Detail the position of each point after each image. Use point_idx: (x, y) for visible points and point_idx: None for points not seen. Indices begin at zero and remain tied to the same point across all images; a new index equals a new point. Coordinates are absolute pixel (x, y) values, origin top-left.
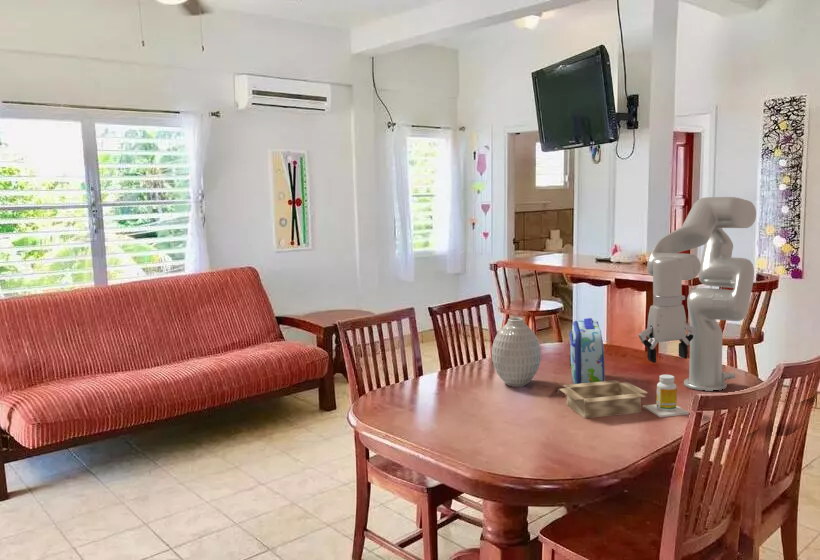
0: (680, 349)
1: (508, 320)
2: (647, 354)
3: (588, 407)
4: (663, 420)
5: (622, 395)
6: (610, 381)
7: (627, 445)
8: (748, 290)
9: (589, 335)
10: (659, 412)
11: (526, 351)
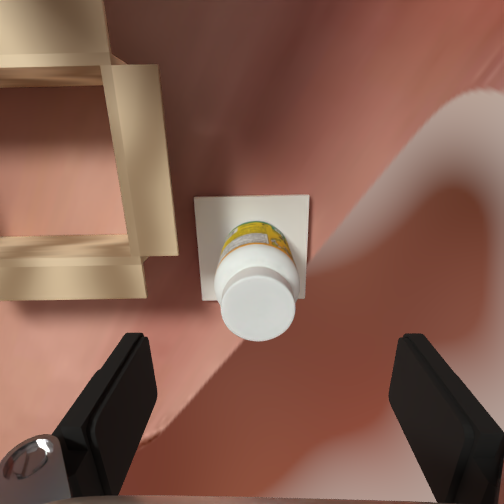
0: (427, 405)
1: None
2: (84, 390)
3: None
4: (200, 320)
5: (58, 263)
6: (62, 14)
7: (40, 434)
8: None
9: None
10: (213, 277)
11: None
